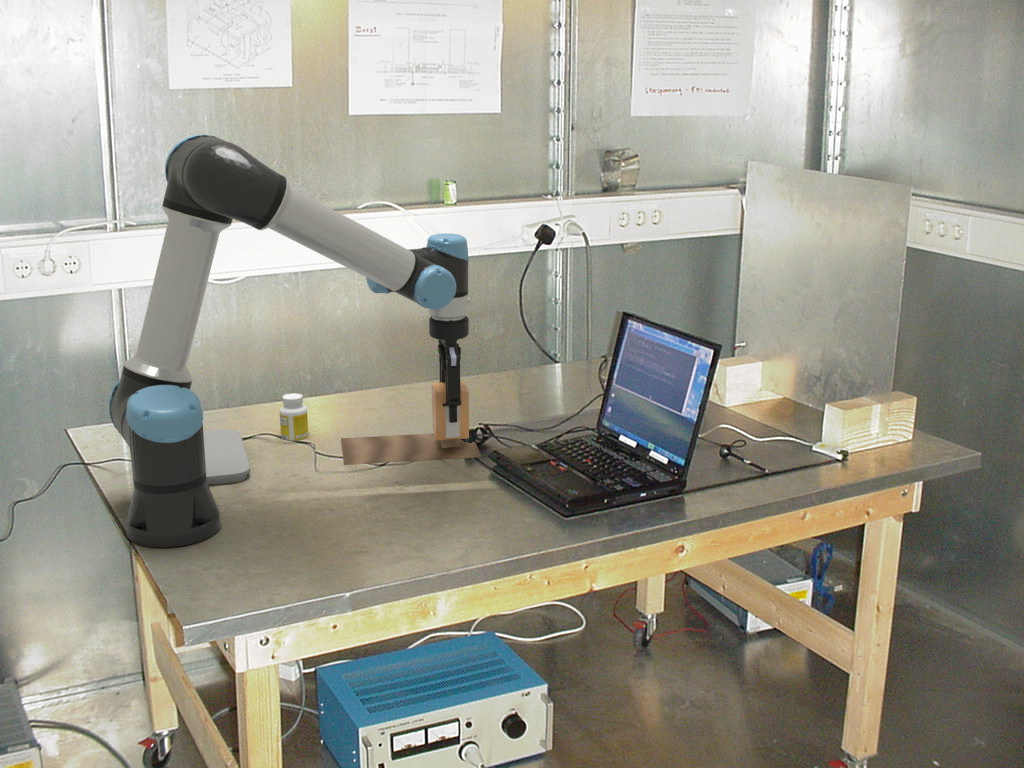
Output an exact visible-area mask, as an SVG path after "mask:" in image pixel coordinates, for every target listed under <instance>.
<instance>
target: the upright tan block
mask: <svg viewBox="0 0 1024 768" xmlns="http://www.w3.org/2000/svg"><path fill="white" fill-rule="evenodd" d="M460 387H461V405H460V437H455V438H446V432H445V407H443V405H442V404H443V403H446V388H445V382H441V383H439V382H431V410H432V411H431V412H432V413H431V414H432V417H431V418H432V421H431V422H432V423H431V425H432V432H433V433H434V435H435V438H436V440H449V439H467V438H469V431H470V396H469V395H470V393H469V392H470V391H469V389H468V387H467V384H466V382H465V381H461V380H460Z"/></svg>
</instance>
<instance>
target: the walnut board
mask: <svg viewBox="0 0 1024 768" xmlns="http://www.w3.org/2000/svg"><path fill="white" fill-rule="evenodd" d="M340 444H341V445H340V446H341V451H342V458H343V459H342V460H343V466H349V465H350V466H351V465H353V466H354V465H366V464H370V465H371V464H384V463H386V464H387V463H404V462H419V461H420V462H421V461H437V460H440V461H442V460H458V459H470V458H471V459H473V458H474V459H475V458H477V459H478V458H482V454H481V453H480V449H479V448H478V445H477V443H476V441H475V442H472V443H468V442H464V441H463V440H461V447H451V448H442V446H441V443H440V440H436V438H435V435H434V432H433V433H415V434H398V435H397V434H395V435H393V434H392V435H377V436H376V435H375V436H361V437H359V436H358V437H356V436H355V437H342V438H340Z"/></svg>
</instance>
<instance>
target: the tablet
mask: <svg viewBox="0 0 1024 768" xmlns="http://www.w3.org/2000/svg"><path fill="white" fill-rule="evenodd" d="M203 434H204V448H205V462H206V478H207V484H209V485H208V486H211V484H213V485H219V484H218V483H222V484H228V483H230V482H232V483H238V482H241V481H242V482H243V481H244V480H246V479H247V477H248V474H249V473H250V472H251V466H250V462H249V458H248V455H247V452H246V449H245V446H244V443H243V439H242V435H241V432H240V431H239V430H236V429H231V428H223V429H222V428H220V429H212V430H211V429H210V430H203Z"/></svg>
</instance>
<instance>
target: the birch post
mask: <svg viewBox="0 0 1024 768" xmlns="http://www.w3.org/2000/svg"><path fill="white" fill-rule="evenodd" d="M440 443H441V446H442V448H451V447H461V439H449V440H440Z"/></svg>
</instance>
